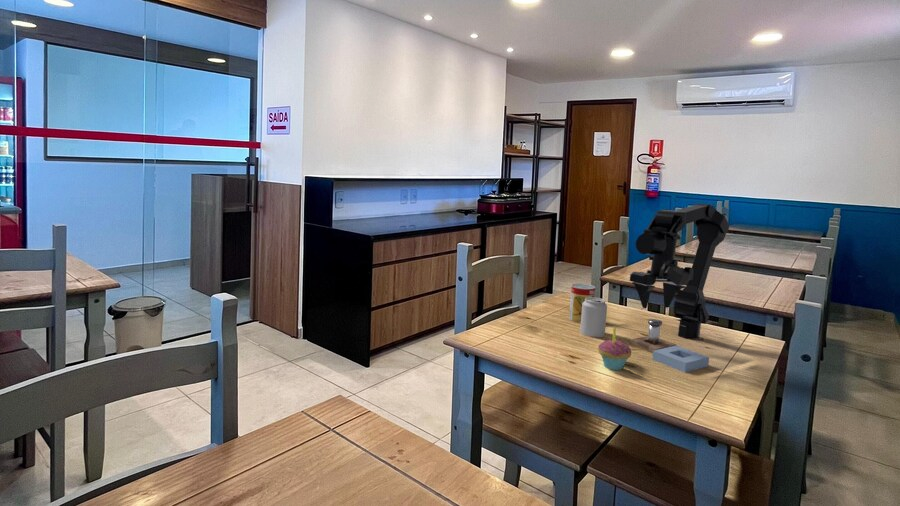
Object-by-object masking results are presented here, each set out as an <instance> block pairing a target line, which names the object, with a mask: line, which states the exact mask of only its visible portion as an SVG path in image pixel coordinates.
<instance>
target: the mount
mask: <svg viewBox="0 0 900 506" xmlns="http://www.w3.org/2000/svg"><path fill="white" fill-rule="evenodd" d="M647 342H648V335H645V336H641V337H640V336H639V337H636V338H632V339H631V338H630V339H629V346H630V345H631V346H633V347H635V348H638V349H641V350H643V351H646V352H649V353H650V354H651V353H652V354H653V351H654V350H659V349H663V348H668V347H672V346H676V345H677V344H676V343H674V342H671V341H668V340H665V339H662V338H659V343H658V344H657V345H653V344H650V343H647Z"/></svg>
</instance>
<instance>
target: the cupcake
mask: <svg viewBox="0 0 900 506" xmlns="http://www.w3.org/2000/svg"><path fill="white" fill-rule="evenodd" d="M616 331H617V328H616V325H615V324H613V328H612V339H608V340H607V339H606V340H604V341H602V342H601V343H600V344H598V347H597V351H598V353H599V355H601V359H602V362H603V366H604V367H605V368H607V369H609V370H613V371H621V370H623V368H624V366H625V364H626V362H627V360H628V359H629V358H630V357H631V356H632V350H631V349H632V348H631V347H630V345H628V344H626V343H625V342H623V341H621V340H618V339H616V333H617V332H616Z"/></svg>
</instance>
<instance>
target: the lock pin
mask: <svg viewBox="0 0 900 506" xmlns="http://www.w3.org/2000/svg"><path fill="white" fill-rule="evenodd" d="M647 321H648V322H647V324H648V333H647V334H648V335H647V336H648V342H647V343H650V344H653V345H657V344H658V343H659V339H660V334H661V333H660V332H661V326H662V325H663V321H662V320H660V319H654V318H650V319H648V320H647Z"/></svg>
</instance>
